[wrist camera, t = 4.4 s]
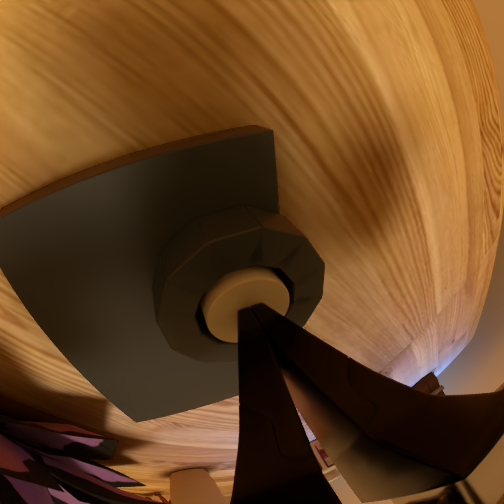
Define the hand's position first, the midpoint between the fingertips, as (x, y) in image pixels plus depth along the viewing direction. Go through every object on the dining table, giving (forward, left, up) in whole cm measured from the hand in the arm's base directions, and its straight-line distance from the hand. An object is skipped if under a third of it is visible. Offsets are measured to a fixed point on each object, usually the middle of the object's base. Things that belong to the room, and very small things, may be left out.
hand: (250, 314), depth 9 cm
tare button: (0, 0, -2) cm, 2 cm away
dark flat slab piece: (+3, +2, -3) cm, 5 cm away
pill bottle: (-7, +43, -3) cm, 44 cm away
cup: (+12, +33, -3) cm, 35 cm away
